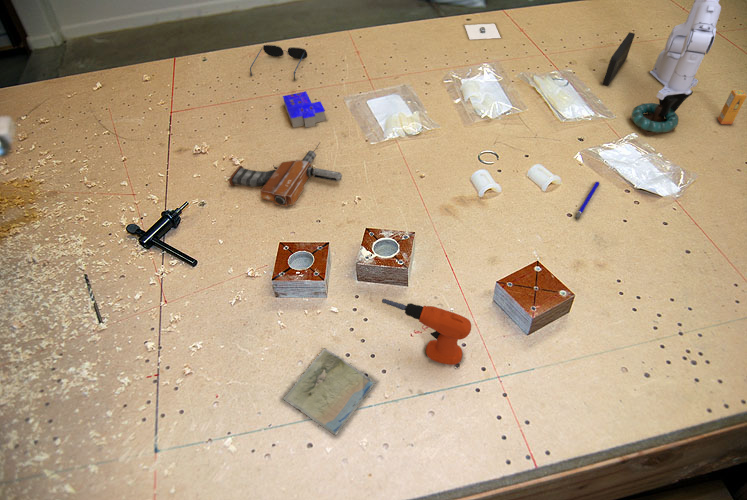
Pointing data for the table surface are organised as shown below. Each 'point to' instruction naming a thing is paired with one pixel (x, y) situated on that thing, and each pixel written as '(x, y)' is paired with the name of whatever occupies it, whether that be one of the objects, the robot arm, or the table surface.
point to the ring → (652, 125)
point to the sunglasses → (278, 52)
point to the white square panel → (482, 31)
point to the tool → (283, 179)
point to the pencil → (587, 200)
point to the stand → (656, 118)
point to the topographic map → (329, 391)
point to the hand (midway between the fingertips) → (666, 112)
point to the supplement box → (732, 106)
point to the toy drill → (439, 330)
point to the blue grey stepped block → (303, 110)
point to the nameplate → (618, 58)
